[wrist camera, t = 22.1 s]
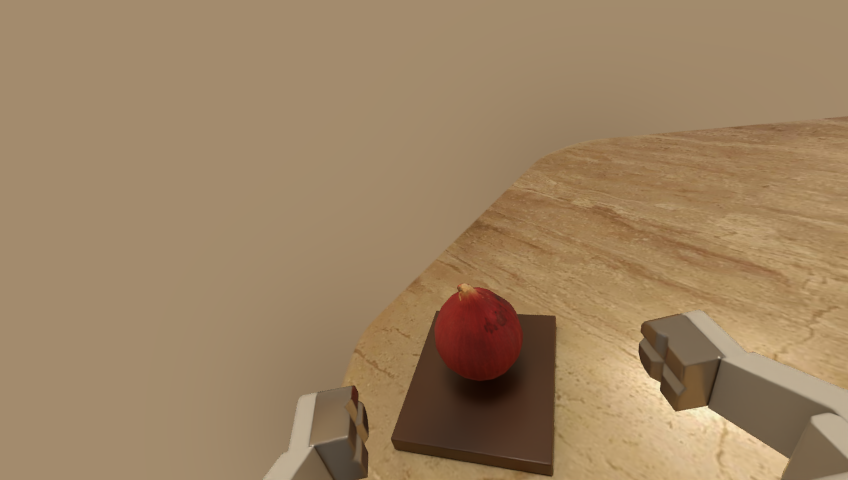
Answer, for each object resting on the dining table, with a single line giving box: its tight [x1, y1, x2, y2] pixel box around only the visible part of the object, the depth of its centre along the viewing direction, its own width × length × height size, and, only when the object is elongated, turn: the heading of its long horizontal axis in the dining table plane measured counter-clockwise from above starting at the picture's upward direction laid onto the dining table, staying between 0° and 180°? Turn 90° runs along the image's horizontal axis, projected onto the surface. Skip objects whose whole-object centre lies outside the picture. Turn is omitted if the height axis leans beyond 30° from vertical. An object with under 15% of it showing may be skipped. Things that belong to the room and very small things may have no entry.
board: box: [391, 311, 556, 476], centre depth 30 cm, size 10×12×1 cm
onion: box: [434, 284, 523, 381], centre depth 27 cm, size 6×6×8 cm
